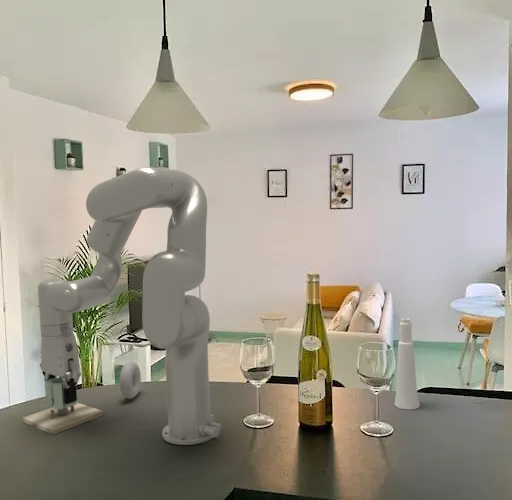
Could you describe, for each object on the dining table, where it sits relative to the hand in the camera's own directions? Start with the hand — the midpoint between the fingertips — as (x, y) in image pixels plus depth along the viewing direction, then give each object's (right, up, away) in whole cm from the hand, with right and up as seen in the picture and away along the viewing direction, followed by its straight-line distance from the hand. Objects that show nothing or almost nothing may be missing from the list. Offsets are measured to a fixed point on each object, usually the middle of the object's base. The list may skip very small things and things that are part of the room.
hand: (61, 398), depth 133 cm
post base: (0, -5, 0) cm, 5 cm away
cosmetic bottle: (+86, -2, 0) cm, 86 cm away
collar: (0, -1, 0) cm, 1 cm away
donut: (+14, -4, +13) cm, 20 cm away
